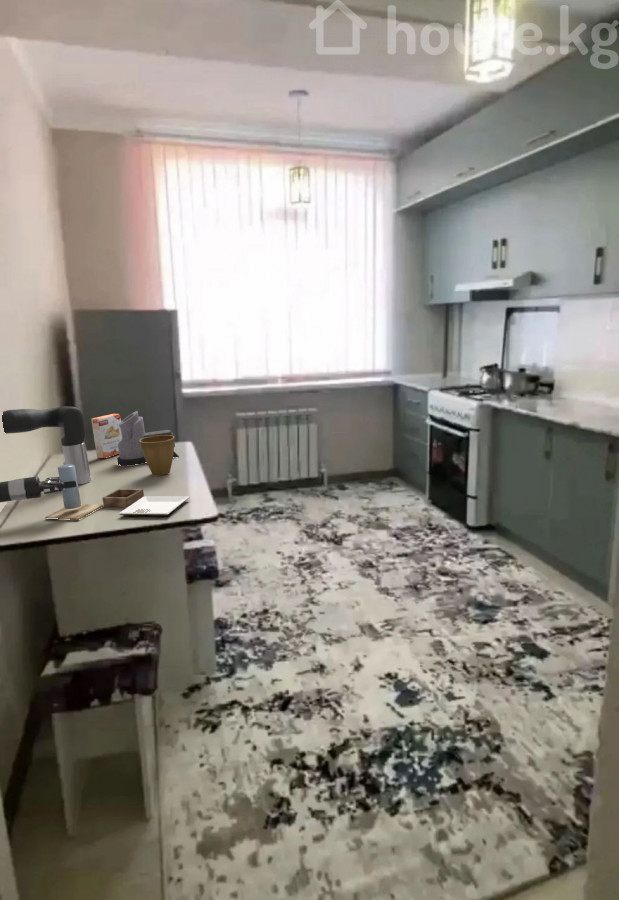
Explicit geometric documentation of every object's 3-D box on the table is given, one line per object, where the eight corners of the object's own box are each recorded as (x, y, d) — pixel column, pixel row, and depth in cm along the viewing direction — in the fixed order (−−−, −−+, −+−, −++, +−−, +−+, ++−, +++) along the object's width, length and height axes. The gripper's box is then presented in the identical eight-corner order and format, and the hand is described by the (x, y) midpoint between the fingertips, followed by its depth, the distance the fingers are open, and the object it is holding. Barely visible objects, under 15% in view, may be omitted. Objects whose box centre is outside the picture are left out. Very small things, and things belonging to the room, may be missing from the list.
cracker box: (104, 459, 287) (97, 418, 282) (96, 458, 291) (90, 418, 286) (126, 452, 299) (120, 413, 294) (118, 452, 302) (112, 413, 297)
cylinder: (61, 507, 206) (54, 467, 202) (75, 503, 210) (69, 463, 207) (69, 510, 202) (62, 469, 199) (84, 505, 207) (77, 465, 203)
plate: (190, 501, 212) (190, 495, 212) (168, 519, 194) (167, 513, 194) (144, 500, 216) (144, 495, 216) (119, 518, 199) (118, 513, 198)
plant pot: (149, 480, 243) (144, 444, 239) (140, 473, 255) (135, 438, 252) (183, 473, 250) (178, 438, 246) (173, 467, 263) (168, 433, 259)
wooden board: (45, 519, 202) (44, 517, 202) (71, 506, 215) (71, 503, 215) (78, 521, 198) (78, 518, 198) (103, 507, 211) (102, 504, 211)
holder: (103, 506, 212) (102, 497, 211) (120, 497, 222) (119, 488, 221) (128, 507, 209) (127, 498, 208) (144, 498, 219) (143, 489, 218)
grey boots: (116, 468, 268) (108, 417, 262) (114, 461, 282) (106, 412, 277) (180, 458, 279) (174, 408, 273) (174, 452, 293) (168, 404, 288)
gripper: (29, 493, 207) (79, 486, 212) (24, 504, 194) (77, 496, 199) (25, 473, 206) (75, 466, 211) (20, 483, 192) (73, 476, 197)
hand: (76, 481), depth 205 cm, fingers closed on cylinder, 5 cm apart
